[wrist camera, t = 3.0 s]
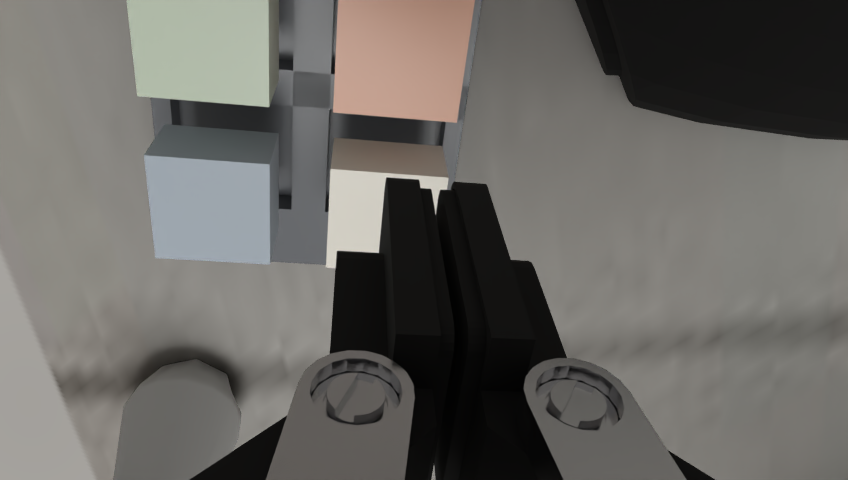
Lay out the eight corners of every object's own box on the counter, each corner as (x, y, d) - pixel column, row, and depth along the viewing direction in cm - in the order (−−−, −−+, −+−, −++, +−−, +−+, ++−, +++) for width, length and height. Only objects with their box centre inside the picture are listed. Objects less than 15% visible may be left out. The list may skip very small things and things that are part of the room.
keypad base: (491, -131, 24) (501, -127, 22) (436, 245, 33) (440, 271, 31) (143, -175, 23) (123, -175, 21) (178, 229, 31) (166, 255, 29)
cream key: (439, 133, 26) (448, 177, 23) (427, 221, 28) (434, 273, 25) (335, 125, 26) (330, 169, 23) (331, 215, 28) (325, 267, 25)
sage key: (282, -49, 23) (268, -27, 19) (282, 68, 25) (269, 107, 21) (158, -63, 22) (121, -42, 19) (168, 58, 24) (137, 96, 21)
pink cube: (461, -30, 23) (475, -5, 20) (446, 83, 25) (456, 122, 22) (344, -43, 23) (339, -19, 20) (338, 73, 25) (332, 112, 22)
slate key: (282, 120, 26) (269, 164, 22) (282, 212, 28) (270, 264, 25) (173, 111, 25) (143, 155, 22) (180, 205, 27) (155, 257, 24)
